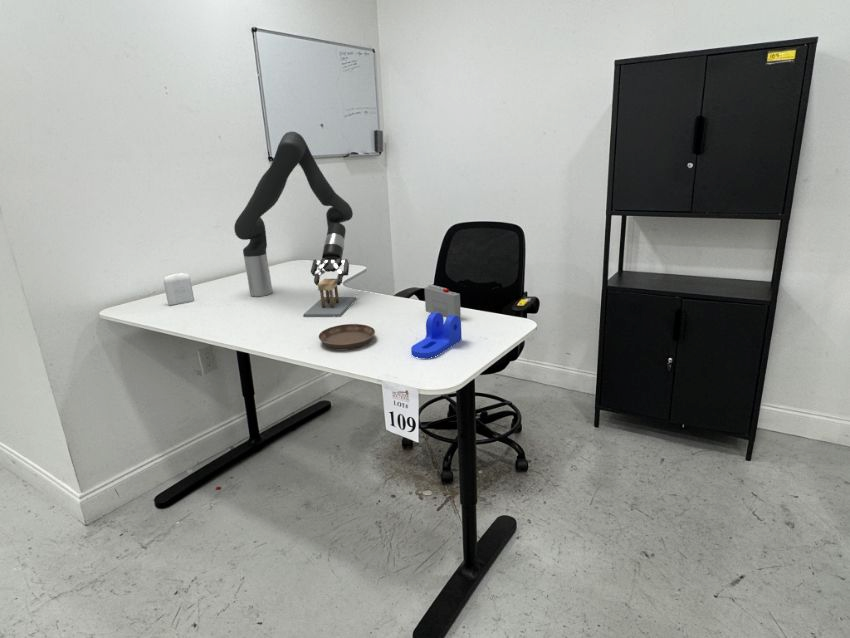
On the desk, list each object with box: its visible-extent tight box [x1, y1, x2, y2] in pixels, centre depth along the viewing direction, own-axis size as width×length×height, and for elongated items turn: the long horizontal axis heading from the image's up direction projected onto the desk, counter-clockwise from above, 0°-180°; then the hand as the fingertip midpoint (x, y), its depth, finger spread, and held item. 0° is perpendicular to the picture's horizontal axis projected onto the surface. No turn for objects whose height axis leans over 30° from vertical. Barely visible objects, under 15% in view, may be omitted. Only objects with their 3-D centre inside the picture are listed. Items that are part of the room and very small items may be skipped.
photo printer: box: [163, 272, 195, 306], centre depth 217 cm, size 10×4×12 cm, turn 123°
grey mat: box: [302, 296, 357, 318], centre depth 201 cm, size 22×14×1 cm, turn 171°
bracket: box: [410, 312, 463, 359], centre depth 155 cm, size 18×8×9 cm, turn 147°
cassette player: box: [424, 284, 462, 320], centre depth 184 cm, size 16×3×10 cm, turn 40°
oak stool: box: [317, 278, 339, 308], centre depth 199 cm, size 5×8×9 cm, turn 172°
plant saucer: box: [318, 323, 376, 351], centre depth 165 cm, size 18×18×3 cm
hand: (327, 284), depth 197 cm, fingers open, 8 cm apart
